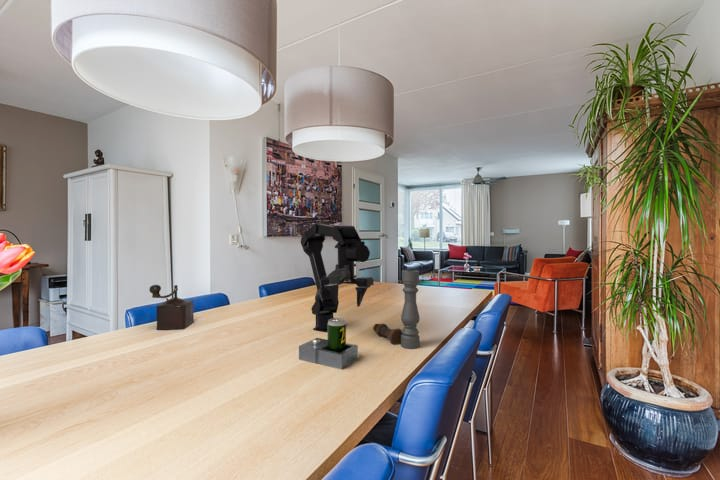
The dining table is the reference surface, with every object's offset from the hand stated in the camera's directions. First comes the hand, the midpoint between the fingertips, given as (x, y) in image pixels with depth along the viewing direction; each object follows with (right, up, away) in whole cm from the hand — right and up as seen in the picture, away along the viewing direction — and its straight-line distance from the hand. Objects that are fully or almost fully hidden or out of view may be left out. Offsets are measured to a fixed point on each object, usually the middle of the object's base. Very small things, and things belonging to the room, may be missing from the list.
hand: (347, 305), depth 120 cm
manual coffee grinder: (-69, -12, +14) cm, 72 cm away
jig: (-5, -12, -18) cm, 23 cm away
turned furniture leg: (+21, -12, -6) cm, 25 cm away
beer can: (-2, -13, -19) cm, 23 cm away
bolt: (+14, -12, +2) cm, 19 cm away
